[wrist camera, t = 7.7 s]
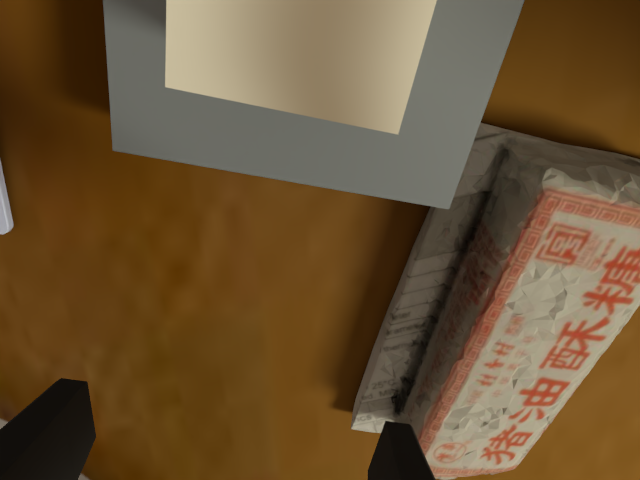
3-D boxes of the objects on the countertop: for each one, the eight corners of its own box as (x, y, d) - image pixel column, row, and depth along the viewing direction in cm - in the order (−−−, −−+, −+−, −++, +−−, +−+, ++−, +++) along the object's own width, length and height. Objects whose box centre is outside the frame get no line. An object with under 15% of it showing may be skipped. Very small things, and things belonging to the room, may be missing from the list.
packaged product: (494, 150, 13) (786, 216, 14) (456, 112, 17) (682, 164, 18) (350, 486, 22) (534, 515, 23) (347, 407, 26) (503, 433, 27)
